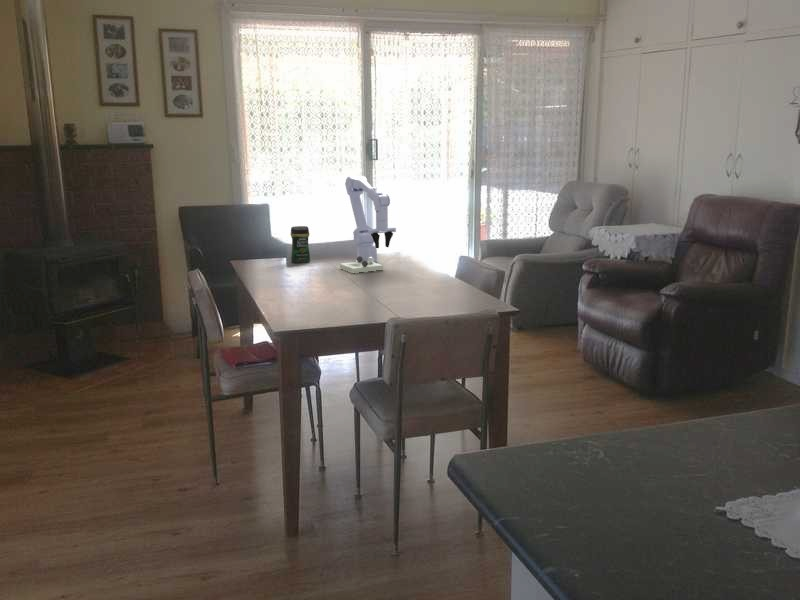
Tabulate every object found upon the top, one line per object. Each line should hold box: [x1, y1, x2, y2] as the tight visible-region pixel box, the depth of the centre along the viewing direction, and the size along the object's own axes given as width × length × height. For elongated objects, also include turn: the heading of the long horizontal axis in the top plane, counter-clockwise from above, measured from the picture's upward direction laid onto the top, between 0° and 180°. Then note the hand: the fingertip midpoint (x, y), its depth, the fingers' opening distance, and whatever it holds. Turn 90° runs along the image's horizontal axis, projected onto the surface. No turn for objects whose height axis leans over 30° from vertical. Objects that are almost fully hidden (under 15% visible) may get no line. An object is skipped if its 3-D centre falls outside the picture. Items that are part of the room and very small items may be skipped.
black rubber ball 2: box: [362, 260, 368, 267], centre depth 348 cm, size 3×3×3 cm
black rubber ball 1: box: [356, 255, 363, 262], centre depth 359 cm, size 3×3×3 cm
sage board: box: [339, 261, 384, 274], centre depth 354 cm, size 16×15×2 cm
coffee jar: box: [290, 225, 311, 264], centre depth 374 cm, size 10×8×19 cm
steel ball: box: [367, 257, 374, 264], centre depth 356 cm, size 3×3×3 cm
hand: (382, 247), depth 357 cm, fingers open, 5 cm apart
